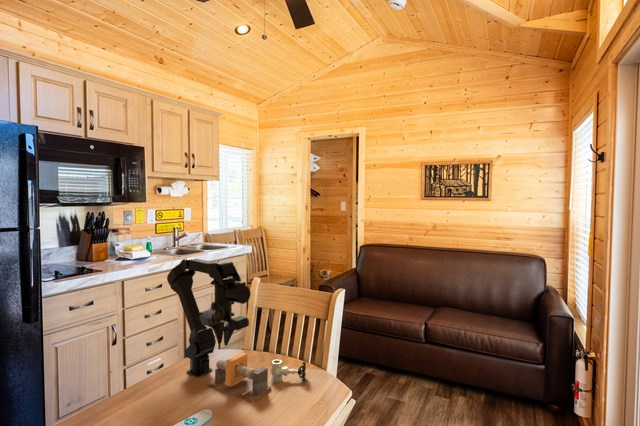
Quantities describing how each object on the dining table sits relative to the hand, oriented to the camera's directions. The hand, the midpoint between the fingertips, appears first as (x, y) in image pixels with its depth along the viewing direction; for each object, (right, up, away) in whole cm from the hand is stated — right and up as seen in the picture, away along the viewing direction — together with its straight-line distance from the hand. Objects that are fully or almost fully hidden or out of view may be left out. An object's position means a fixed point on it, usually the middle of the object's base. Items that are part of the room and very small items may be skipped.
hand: (222, 344), depth 129 cm
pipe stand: (+6, -13, -3) cm, 15 cm away
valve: (+22, -14, +2) cm, 26 cm away
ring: (+5, -11, -3) cm, 13 cm away
